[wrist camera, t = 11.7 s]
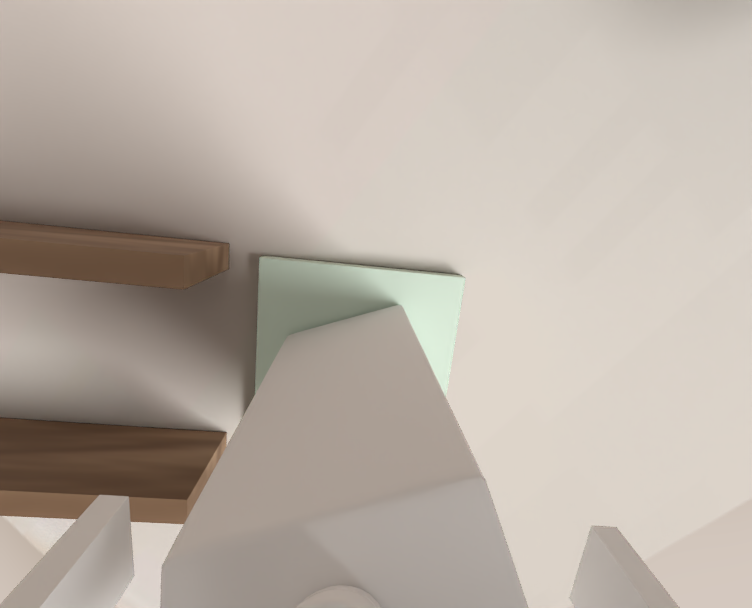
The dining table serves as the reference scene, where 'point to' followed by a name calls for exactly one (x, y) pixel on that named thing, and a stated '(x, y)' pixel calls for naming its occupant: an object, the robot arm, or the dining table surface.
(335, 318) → the pad
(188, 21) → the dining table surface
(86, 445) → the channel
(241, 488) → the milk carton
